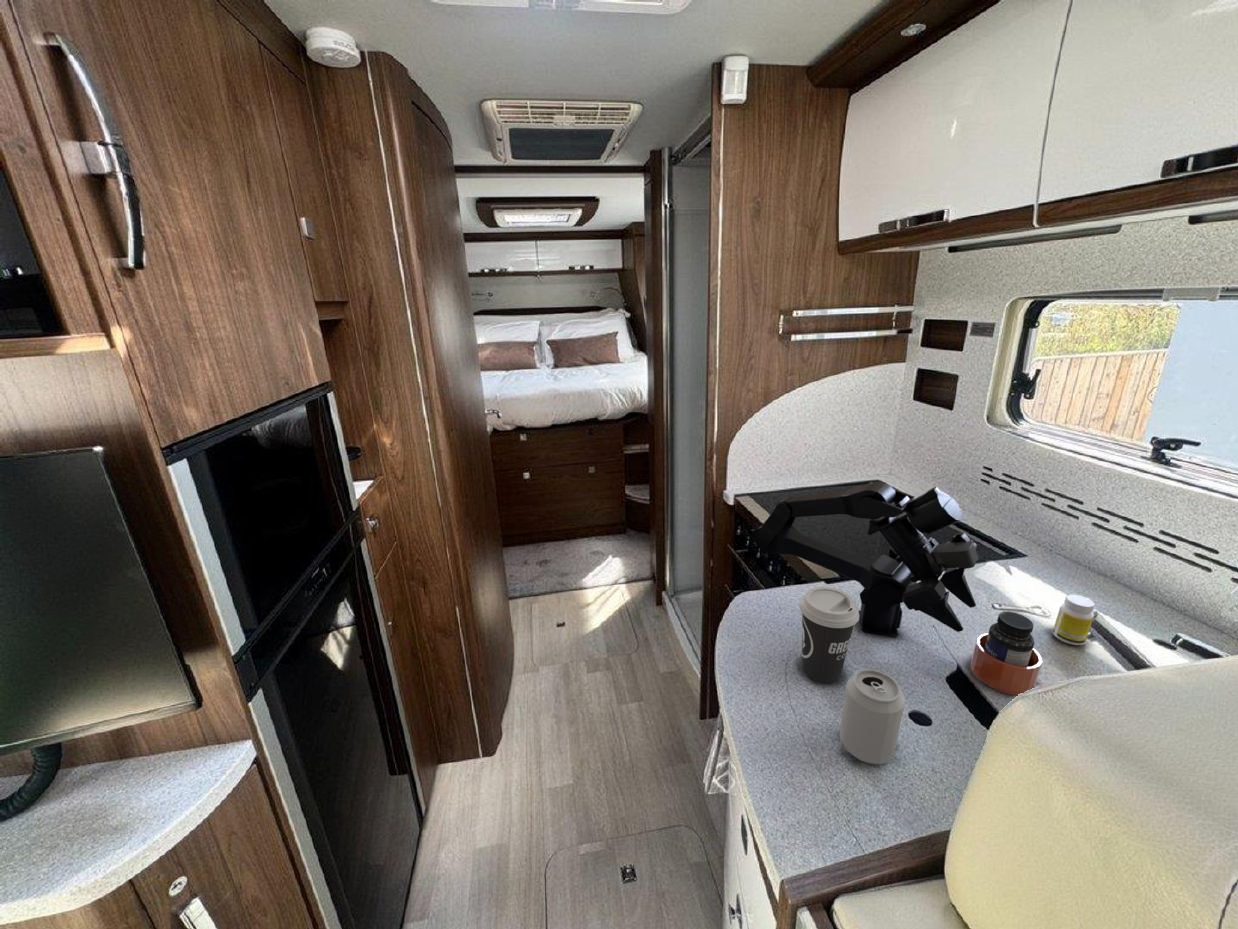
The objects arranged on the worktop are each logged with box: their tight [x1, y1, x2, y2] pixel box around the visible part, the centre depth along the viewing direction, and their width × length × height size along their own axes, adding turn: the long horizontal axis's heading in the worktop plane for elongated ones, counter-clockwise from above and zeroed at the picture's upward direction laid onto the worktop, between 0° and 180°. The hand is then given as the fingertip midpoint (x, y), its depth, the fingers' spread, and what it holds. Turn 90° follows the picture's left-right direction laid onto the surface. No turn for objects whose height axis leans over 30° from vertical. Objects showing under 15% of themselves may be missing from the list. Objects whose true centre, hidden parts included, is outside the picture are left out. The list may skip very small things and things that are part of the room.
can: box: [839, 668, 906, 765], centre depth 73 cm, size 8×8×12 cm
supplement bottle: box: [1052, 594, 1095, 646], centre depth 94 cm, size 5×5×8 cm
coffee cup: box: [798, 586, 860, 685], centre depth 87 cm, size 10×10×15 cm
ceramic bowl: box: [970, 632, 1043, 696], centre depth 86 cm, size 9×9×6 cm
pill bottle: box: [984, 611, 1035, 667], centre depth 85 cm, size 6×6×11 cm
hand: (967, 618), depth 89 cm, fingers open, 9 cm apart
